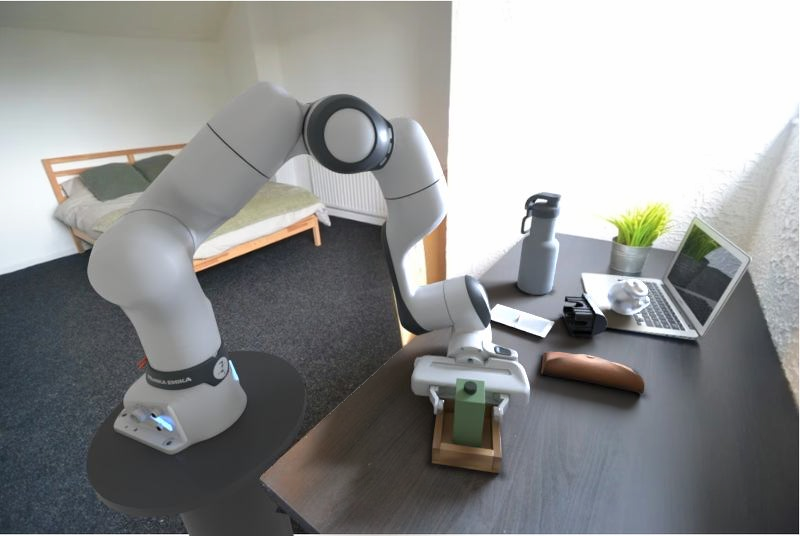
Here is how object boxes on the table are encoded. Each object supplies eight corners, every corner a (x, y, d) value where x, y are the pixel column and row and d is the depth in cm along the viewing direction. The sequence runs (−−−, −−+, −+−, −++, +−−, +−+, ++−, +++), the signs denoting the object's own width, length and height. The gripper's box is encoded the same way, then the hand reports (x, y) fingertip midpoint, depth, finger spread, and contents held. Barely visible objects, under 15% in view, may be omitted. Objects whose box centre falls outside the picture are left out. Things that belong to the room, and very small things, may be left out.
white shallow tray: (497, 307, 101) (498, 300, 100) (554, 325, 92) (555, 318, 91) (484, 320, 95) (485, 313, 94) (543, 341, 87) (545, 333, 86)
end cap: (604, 339, 87) (610, 314, 84) (572, 337, 88) (577, 312, 85) (589, 315, 96) (595, 292, 93) (561, 314, 97) (565, 291, 94)
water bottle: (509, 287, 111) (520, 194, 99) (526, 276, 117) (539, 188, 105) (540, 299, 104) (556, 201, 92) (557, 287, 110) (574, 194, 98)
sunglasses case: (633, 366, 77) (644, 354, 72) (635, 400, 74) (647, 390, 68) (541, 351, 83) (545, 338, 77) (539, 381, 79) (542, 371, 74)
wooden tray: (431, 463, 59) (432, 447, 57) (438, 408, 69) (439, 394, 68) (499, 473, 57) (501, 457, 56) (496, 415, 67) (498, 401, 66)
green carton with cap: (452, 446, 61) (455, 395, 56) (454, 422, 66) (456, 372, 61) (480, 450, 60) (485, 398, 56) (480, 425, 65) (485, 376, 60)
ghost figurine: (610, 321, 93) (619, 286, 89) (599, 302, 102) (607, 269, 98) (650, 324, 92) (661, 288, 88) (635, 305, 100) (644, 271, 96)
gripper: (416, 341, 72) (403, 392, 60) (525, 352, 69) (536, 408, 56) (416, 367, 75) (404, 421, 63) (521, 378, 71) (530, 438, 59)
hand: (467, 415), depth 60 cm, fingers open, 8 cm apart
